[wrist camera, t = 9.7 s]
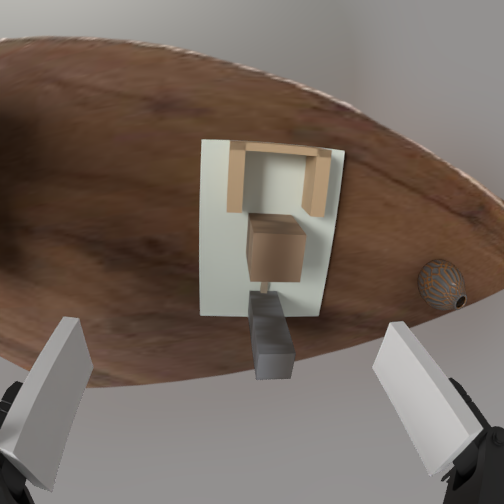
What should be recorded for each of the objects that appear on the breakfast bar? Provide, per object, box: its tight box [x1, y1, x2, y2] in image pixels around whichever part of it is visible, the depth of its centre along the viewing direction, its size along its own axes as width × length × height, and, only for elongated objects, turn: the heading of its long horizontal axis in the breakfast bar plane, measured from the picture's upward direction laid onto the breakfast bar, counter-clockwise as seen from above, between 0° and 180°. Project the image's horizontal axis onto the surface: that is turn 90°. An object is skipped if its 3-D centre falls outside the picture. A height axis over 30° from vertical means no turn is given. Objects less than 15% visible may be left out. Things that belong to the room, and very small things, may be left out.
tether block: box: [246, 213, 307, 380], centre depth 31 cm, size 5×14×12 cm, turn 176°
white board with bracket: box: [199, 139, 345, 317], centre depth 34 cm, size 16×22×5 cm
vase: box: [418, 260, 467, 310], centre depth 37 cm, size 7×7×9 cm
